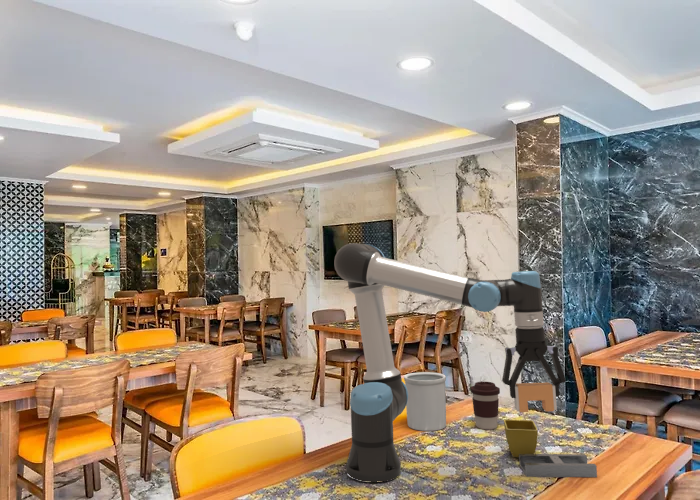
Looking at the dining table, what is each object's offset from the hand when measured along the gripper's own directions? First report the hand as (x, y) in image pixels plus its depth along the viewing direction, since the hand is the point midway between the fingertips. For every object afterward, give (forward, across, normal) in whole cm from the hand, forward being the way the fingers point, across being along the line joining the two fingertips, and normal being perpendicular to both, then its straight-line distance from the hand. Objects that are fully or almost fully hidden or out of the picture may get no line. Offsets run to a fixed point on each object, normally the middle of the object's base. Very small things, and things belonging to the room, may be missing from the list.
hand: (535, 409), depth 136 cm
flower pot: (+17, -2, +12) cm, 21 cm away
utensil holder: (+16, -29, +39) cm, 51 cm away
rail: (+17, +4, +1) cm, 17 cm away
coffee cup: (+16, -8, +38) cm, 42 cm away
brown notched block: (0, 0, 0) cm, 0 cm away
